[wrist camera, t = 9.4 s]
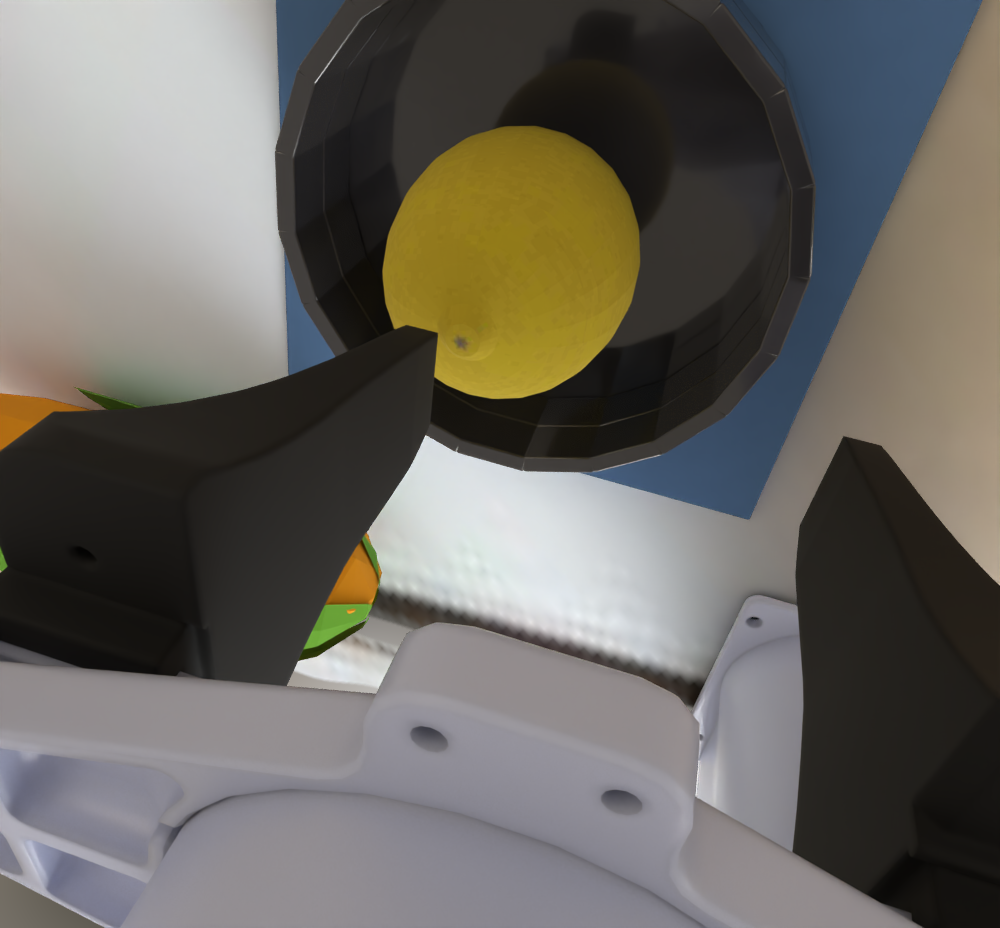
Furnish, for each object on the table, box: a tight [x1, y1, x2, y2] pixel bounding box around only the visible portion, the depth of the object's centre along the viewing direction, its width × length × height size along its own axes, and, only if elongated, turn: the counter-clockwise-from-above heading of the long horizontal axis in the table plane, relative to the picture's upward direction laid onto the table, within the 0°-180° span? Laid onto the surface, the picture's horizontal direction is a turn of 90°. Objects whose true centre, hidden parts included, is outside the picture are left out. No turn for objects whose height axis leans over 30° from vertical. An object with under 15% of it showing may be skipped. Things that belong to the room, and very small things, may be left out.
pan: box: [275, 0, 816, 473], centre depth 20 cm, size 13×13×4 cm
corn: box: [0, 387, 382, 661], centre depth 29 cm, size 7×8×20 cm
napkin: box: [276, 0, 982, 520], centre depth 21 cm, size 17×16×1 cm
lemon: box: [383, 126, 640, 399], centre depth 18 cm, size 6×6×8 cm
